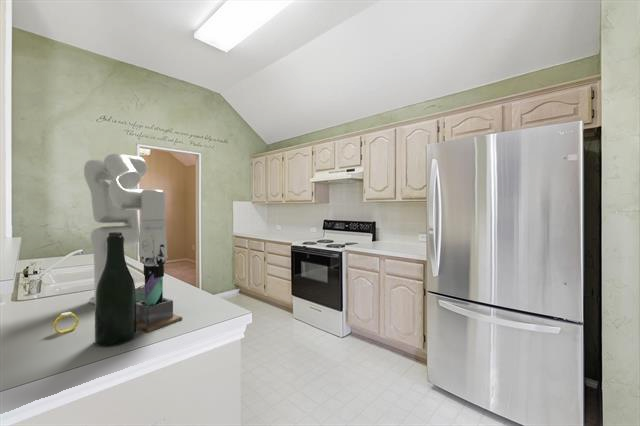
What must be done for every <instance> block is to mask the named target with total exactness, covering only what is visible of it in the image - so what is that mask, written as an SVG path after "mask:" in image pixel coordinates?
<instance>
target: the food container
mask: <svg viewBox="0 0 640 426" xmlns="http://www.w3.org/2000/svg"><path fill="white" fill-rule="evenodd" d="M135 293H136V303H137V302H141V301H144V300H145V284H144V285H141V286H138V287H137V288H136V287H135Z"/></svg>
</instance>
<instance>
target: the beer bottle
mask: <svg viewBox="0 0 640 426" xmlns="http://www.w3.org/2000/svg"><path fill="white" fill-rule="evenodd" d="M108 235H109V237H107V239H106V242H107V255H106V263H105V266H104V269H103V272H102V274H101V276H100V279H99V281H98V283H97V287H96V293H95V304H94V343H95V344H96V345H97V346H100V347H113V346H117V345H121V344H124V343H127V342H129V341H131V340H132V339H133V338H135V337H136V335H137V333H138V331H137V330H138V328H137V320H136V293H135V288H136V285H135V280H134V278H133V276H132V273H131V271H130V269H129V267H128V265H127V261H126V258H125V257H126V255H125V247H124V237H123V236H122V232H110V233H109V234H108Z"/></svg>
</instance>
